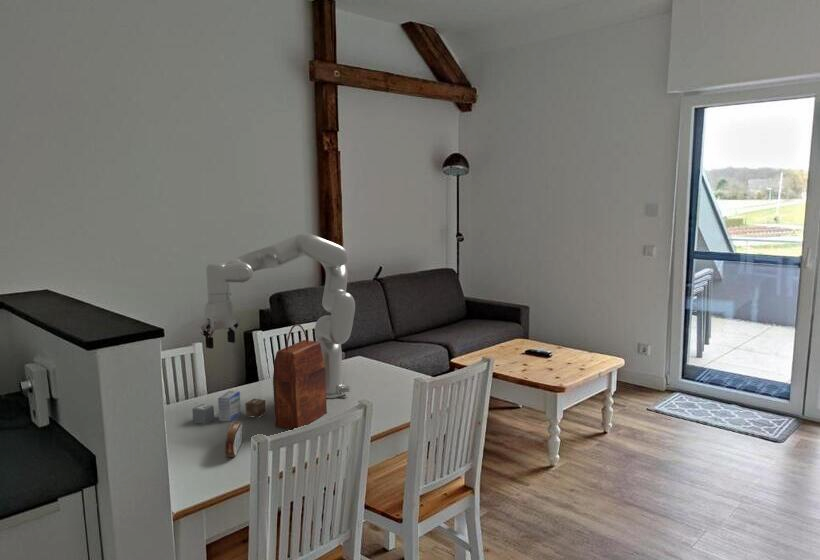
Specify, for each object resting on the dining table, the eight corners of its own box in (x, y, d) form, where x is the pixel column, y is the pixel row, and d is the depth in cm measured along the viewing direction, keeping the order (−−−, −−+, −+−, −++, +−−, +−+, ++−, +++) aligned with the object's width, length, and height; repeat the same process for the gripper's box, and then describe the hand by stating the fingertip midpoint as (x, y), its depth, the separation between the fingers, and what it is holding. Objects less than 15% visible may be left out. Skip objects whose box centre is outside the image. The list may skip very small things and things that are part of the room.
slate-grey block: (214, 419, 209) (213, 405, 209) (204, 424, 205) (204, 409, 204) (202, 417, 211) (201, 403, 210) (193, 422, 206) (192, 408, 206)
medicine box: (230, 422, 206) (229, 398, 205) (218, 421, 207) (217, 397, 206) (241, 413, 214) (240, 391, 213) (230, 413, 215) (228, 390, 214)
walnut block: (265, 413, 215) (265, 399, 214) (257, 418, 210) (257, 404, 210) (254, 411, 217) (253, 397, 216) (246, 416, 212) (245, 402, 211)
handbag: (272, 427, 202) (267, 328, 197) (305, 407, 220) (301, 316, 214) (297, 432, 198) (292, 331, 192) (329, 412, 215) (325, 319, 210)
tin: (235, 441, 190) (234, 416, 189) (245, 441, 190) (243, 416, 189) (224, 462, 175) (223, 435, 174) (235, 461, 176) (234, 434, 174)
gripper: (230, 293, 216) (232, 338, 219) (191, 300, 202) (193, 348, 204) (245, 295, 213) (246, 341, 215) (205, 302, 198) (208, 351, 200)
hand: (220, 345), depth 210 cm, fingers open, 9 cm apart
